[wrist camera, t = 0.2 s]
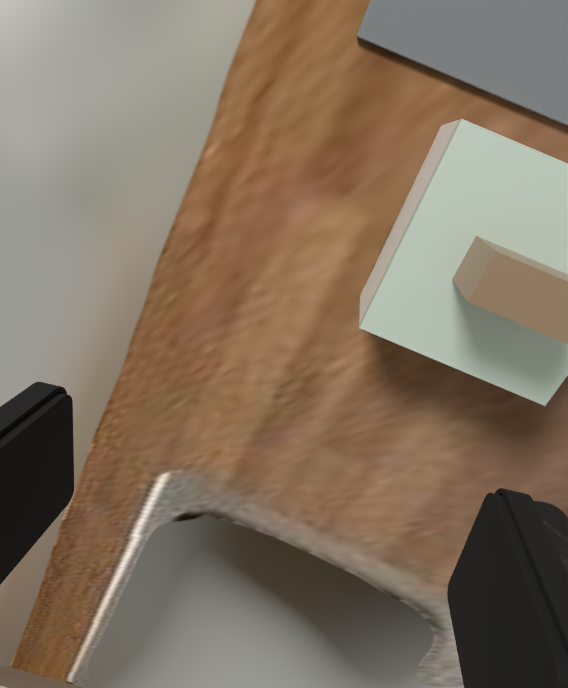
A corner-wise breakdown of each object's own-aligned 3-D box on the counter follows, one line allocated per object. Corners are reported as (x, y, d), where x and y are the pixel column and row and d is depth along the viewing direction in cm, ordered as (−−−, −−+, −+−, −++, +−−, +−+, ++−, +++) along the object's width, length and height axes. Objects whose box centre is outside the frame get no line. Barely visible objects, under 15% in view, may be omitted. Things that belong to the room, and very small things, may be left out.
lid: (456, 120, 29) (481, 112, 22) (667, 209, 29) (752, 226, 22) (359, 319, 34) (358, 356, 28) (536, 393, 34) (574, 447, 28)
